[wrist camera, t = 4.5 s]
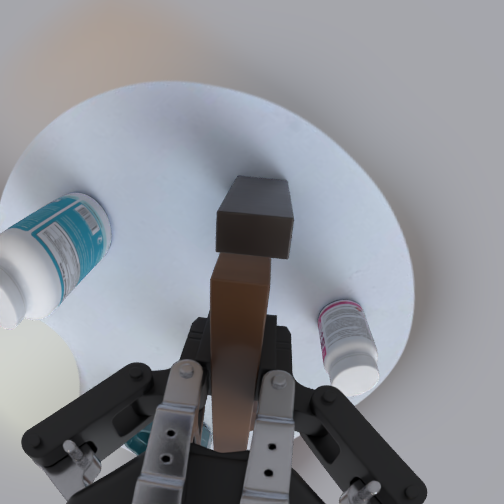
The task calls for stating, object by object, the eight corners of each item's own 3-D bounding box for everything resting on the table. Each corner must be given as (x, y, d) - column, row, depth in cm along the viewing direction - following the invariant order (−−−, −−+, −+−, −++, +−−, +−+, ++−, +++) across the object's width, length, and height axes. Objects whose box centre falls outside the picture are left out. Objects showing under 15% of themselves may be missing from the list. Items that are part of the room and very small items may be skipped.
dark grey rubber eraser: (284, 209, 25) (288, 260, 17) (235, 204, 25) (215, 252, 17) (287, 180, 24) (294, 218, 16) (237, 175, 24) (216, 210, 16)
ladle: (260, 419, 30) (253, 507, 20) (216, 414, 30) (200, 501, 20) (297, 192, 19) (320, 289, 9) (220, 185, 19) (162, 272, 9)
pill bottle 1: (53, 242, 28) (-30, 313, 16) (61, 179, 25) (-43, 235, 13) (108, 271, 29) (34, 361, 17) (122, 207, 26) (26, 286, 13)
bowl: (115, 404, 40) (104, 428, 35) (183, 399, 37) (175, 428, 32) (161, 446, 45) (154, 468, 40) (226, 444, 42) (222, 469, 37)
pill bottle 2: (308, 313, 29) (315, 379, 21) (350, 289, 28) (371, 352, 20) (331, 342, 30) (342, 406, 23) (371, 321, 29) (392, 383, 21)
